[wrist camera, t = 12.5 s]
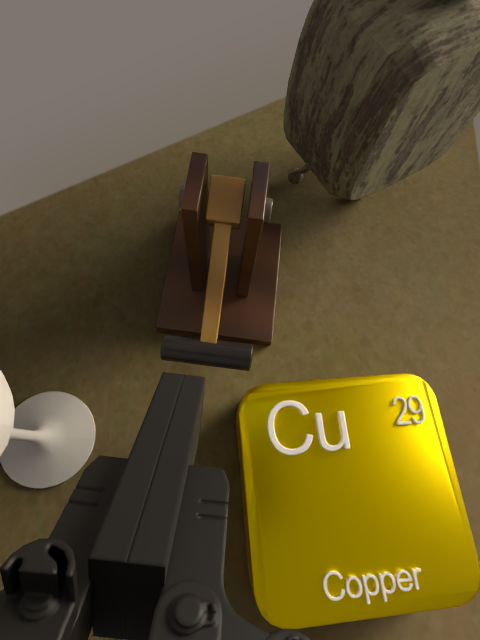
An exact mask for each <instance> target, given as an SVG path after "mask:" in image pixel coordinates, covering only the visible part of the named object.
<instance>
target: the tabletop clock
mask: <svg viewBox="0 0 480 640" xmlns="http://www.w3.org/2000/svg"><path fill="white" fill-rule="evenodd" d="M479 111H480V0H314V1H313V3H312V5H311V8H310V10H309V12H308V15H307V18H306V21H305V23H304V27H303V29H302V32H301V35H300V38H299V42H298V46H297V50H296V54H295V58H294V62H293V65H292V69H291V74H290V77H289V81H288V89H287V96H286V103H285V110H284V132H285V135H286V139H287V140H288V141H289V143H290V144H291V145H292V146H293V148H294V149H295V150H296V152H297V153H298V154H299V155H300V157H301V158H302V159H303V160H304V162H305V163H306V165H305V166H303V167H302V168H301V169H300V168H298V167H293V168H292V169H291V170H290V171H289V172H288V179H289V181H290V182H291V183H293V184H296V183H299V182H300V181H301V180H302V179H303V174H304V173H306V172H307V171H309V170H311V171H312V172H313V173H314V174H315V176H316V177H317V178H318V180H319V181H320V182H321V183H322V185H323V186H324V187H325V188H326V190H327V191H328V192H329V194H331V195H335V196H338V197H342V198H345V199H348V200H357V199H360V198H364V197H366V196H368V195H370V194H372V193H374V192H377V191H379V190H381V189H383V188H385V187H387V186H390V185H392V184H394V183H396V182H398V181H400V180H402V179H404V178H405V177H407V176H409V175H411V174H413V173H415V172H417V171H419V170H421V169H422V168H424V167H426V166H428V165H429V164H431V163H432V162H434V161H435V160H437V159H438V158H439V157H441V156H442V155H443V154H444V153H445V152H446V151H447V150H448V149H449V148H450V146H451V145H452V144H453V143H454V142H455V141H456V140H457V138H458V137H459V136H460V135H461V134H462V132H463V131H464V130H465V129H466V127H467V126H468V125H469V124H470V122H471V121H472V120H473V119H474V117H475V116H476V115H477V114H478V112H479Z"/></svg>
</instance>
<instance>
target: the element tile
mask: <svg viewBox="0 0 480 640" xmlns="http://www.w3.org/2000/svg"><path fill="white" fill-rule="evenodd" d="M236 428H237V440H238V452H239V465H240V477H241V489H242V501H243V514H244V526H245V538H246V550H247V563H248V575H249V579H250V584H251V587H252V591H253V594H254V598H255V602H256V604H257V606H258V608H259V611H260V613H261V615H262V616H263V617H264V618H265V619H266V620H267V621H268V622H269V623H270V624H271V625H274V626H276V627H279V628H282V629H300V628H308V627H315V626H322V625H329V624H337V623H344V622H351V621H358V620H365V619H373V618H380V617H387V616H394V615H402V614H409V613H416V612H423V611H430V610H438V609H445V608H452V607H459V606H462V605H464V604H467V603H468V602H469V601H471V600H472V599H473V598H474V597H475V596H476V594H477V592H478V590H479V588H480V563H479V559H478V555H477V551H476V547H475V544H474V540H473V536H472V532H471V528H470V525H469V521H468V517H467V513H466V509H465V506H464V502H463V498H462V494H461V490H460V487H459V483H458V479H457V475H456V472H455V468H454V464H453V460H452V456H451V453H450V449H449V445H448V441H447V437H446V434H445V430H444V426H443V422H442V418H441V415H440V411H439V407H438V403H437V399H436V396H435V394H434V392H433V391H432V389H431V388H430V386H429V385H428V383H427V382H425V381H424V380H423V379H421V378H420V377H417V376H414V375H411V374H404V373H399V374H386V375H373V376H361V377H348V378H335V379H322V380H309V381H296V382H283V383H270V384H263V385H258V386H256V387H254V388H252V389H250V390H248V392H247V393H246V394H245V395H244V396H243V398H242V400H241V402H240V404H239V407H238V410H237V413H236Z"/></svg>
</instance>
